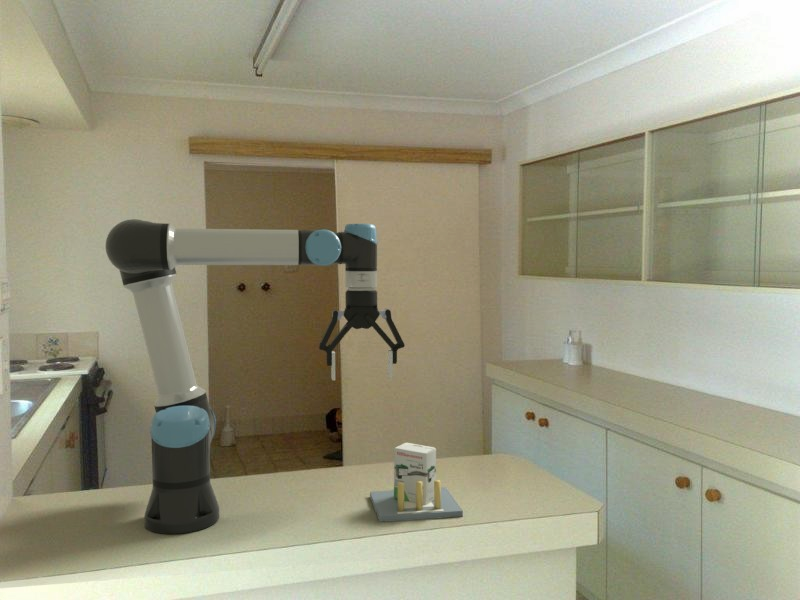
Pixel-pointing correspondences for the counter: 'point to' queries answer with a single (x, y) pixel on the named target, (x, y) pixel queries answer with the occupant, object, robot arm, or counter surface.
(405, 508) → the board
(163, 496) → the robot arm
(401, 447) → the ink box
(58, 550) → the counter surface
